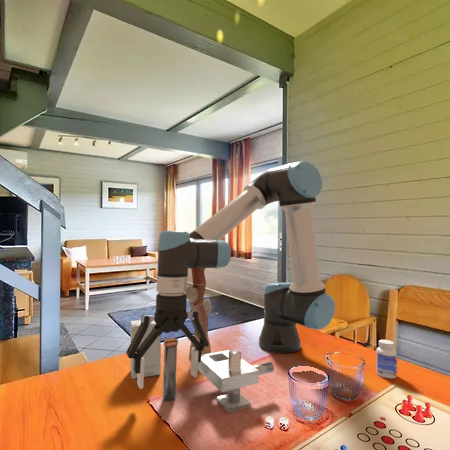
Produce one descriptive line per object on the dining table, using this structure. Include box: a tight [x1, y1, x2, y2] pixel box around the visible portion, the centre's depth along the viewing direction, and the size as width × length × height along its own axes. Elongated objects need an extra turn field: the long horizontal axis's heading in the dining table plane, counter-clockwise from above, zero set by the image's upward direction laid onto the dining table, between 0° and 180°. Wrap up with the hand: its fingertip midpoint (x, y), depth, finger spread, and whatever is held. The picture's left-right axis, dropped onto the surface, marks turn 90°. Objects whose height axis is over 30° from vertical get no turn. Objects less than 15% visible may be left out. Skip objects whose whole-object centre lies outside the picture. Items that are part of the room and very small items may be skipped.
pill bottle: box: [375, 339, 398, 379], centre depth 91 cm, size 5×5×10 cm
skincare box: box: [130, 319, 162, 380], centre depth 89 cm, size 8×6×15 cm
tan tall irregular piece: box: [185, 268, 212, 358], centre depth 103 cm, size 10×7×30 cm
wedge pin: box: [162, 337, 179, 402], centre depth 76 cm, size 3×3×14 cm
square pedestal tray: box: [198, 349, 275, 413], centre depth 79 cm, size 14×16×12 cm
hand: (168, 380), depth 75 cm, fingers open, 13 cm apart
